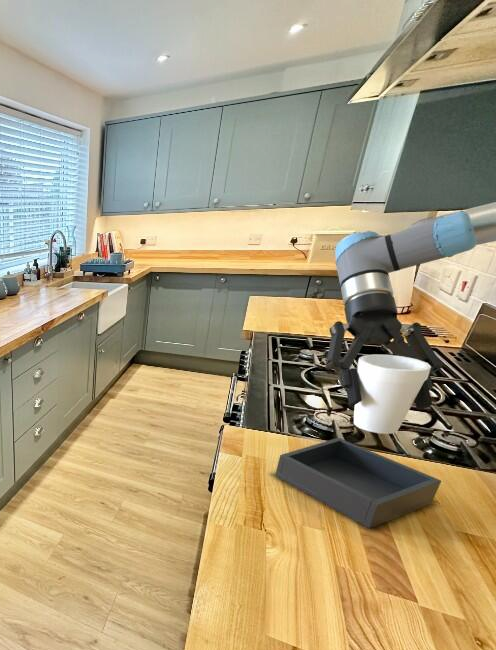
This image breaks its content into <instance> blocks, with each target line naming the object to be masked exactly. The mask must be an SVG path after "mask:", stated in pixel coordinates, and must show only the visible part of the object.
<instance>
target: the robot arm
mask: <svg viewBox="0 0 496 650" xmlns="http://www.w3.org/2000/svg"><path fill="white" fill-rule="evenodd" d="M495 242H496V201H495V202H491V203H486V204H483V205H478V206H474V207H470V208H466V209H463V210H460V211H454V212H451V213H446V214H443V215H439V216H430V217H427V218H422V219H419V220H416V222H413V223H412V224H410V225H409V226H408V227H407V228H405V229H402V230H400V231H396V232H393V233H391V234H387V235H383V236H380V234H378V233H377V232H375V231H372V230H365V231H363V232H361V231H357V232H353V233H351V234H349V235H347V236H345V237H344V238H342V239H340V241H338V243H337V244H336V246H335V248H334V255H335V266H336V272H337V277H338V281H339V286H340V292H341V298H342V304H343V306H344V308H343V309H344V315H345V320H346V323H343V322H342V321H340V320H338V321H336V322H334V324H333V325H331V326H330V327H329V334H330V342H329V347H328V352H327V356H326V360H325V361H326V362H325V369H326V370H327V371H331V370H333V371H334V374H335V375H336V376H337V375H338V378H339V383H340V384H339V385H340V386H341V388H345V390H346V397H347V403H348V406H354V407H355V405H356V404H357V403H359V402H360V401H362V398H361V392H360V387H359V381H358V376H357V370H356V368H353V367H352V365H353V364H354V362H355V360H356V358H357V357H358V355H359V353H360V352H361V349H362V347H363V346H364V345H381V346H383V347H384V348H385V349H386V350H390V351H391V353H392V354H393V355H395V356H404V357H409V358H413V359H418V360H421V361H423V362H426V363H428V364H429V365H430V366H431V369H430V372H429V375H428V378H427V380H426V381H424V383H423V385H422V387H421V389H420V390H419V392H418V394H417V396H416V398H415V400H414V404H415V408H416V410H420V411H422V410H424V409H427V408H429V407H431V406H433V405H434V404H433V400H432V396H431V390H433V388H434V385H433V384H434V383H433V381H432V376H431V375H432V374H434V373H436V372H437V371H439V370H441V369H442V368H443V367H444V366H443V364H442V362H441V361H440V359H439V358H438V356H437V354H436V353H435V351H434V350H433V348H432V347H431V345H430V344H429V342H428V340H427V339H426V337H425V336H424V334H423V331H422V325H421V323H420V322H413V323H412V324H406V323H405V324H404V323H402V322H401V321H400V320H399V319H398V308H397V304H396V300H395V297H394V290H393V286H392V282H391V279H390V274H391V273H394V272H398V271H400V270H403V269H408V268H411V267H416V266H418V265H423V264H427V263H430V262H434V261H437V260H441V259H445V258H452V257H453V256H456V255H459V254H462V253H466V252H469V251H471V250H473V249H475V247H476V246H478V245H483V244H488V243H495ZM347 332H348V333H349V334H350V335H351V336H353V337H354V338H353V339H352V341H351V343H349V344H350V345H349V347H348V349H347V351H346V352H345V355H344V356H343V357H342V358H341V354H342V349H343V344H344V339H345V334H346V333H347ZM341 359H342V360H341ZM351 367H352V368H351Z"/></svg>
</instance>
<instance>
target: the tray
mask: <svg viewBox="0 0 496 650" xmlns="http://www.w3.org/2000/svg"><path fill="white" fill-rule="evenodd" d="M274 476H275V477H276V478H278V479H280V480H282V481H284V482H286V483H287V484H289V485H291V486H293V487H295V488H296V489H298V490H300V491H302V492H303V493H305V494H307V495H309V496H311V497H313V498H314V499H316V500H318V501H320V502H322V503H323V504H324V505H327V506H328V507H330V508H332V509H334V510H336V511H337V512H339V513H341V514H343V515H345V516H346V517H348V518H350V519H351V520H353V521H355V522H356V523H359V524H360V525H363V526H364V527H366V528H367V529H372V528H374V527H377V526H380V525H382V524H384V523H387V522H389V521H392V520H394V519H397V518H399V517H401V516H404V515H407V514H409V513H412V512H414V511H416V510H419V509H421V508H424V507H425V506H429V505H431V504H433V501H434V499H435V497H436V495H437V492H438V490H439V488H440V486H441V483H442V480H441V479H438V478H436V477H434V476H432V475H429V474H427V473H424V472H422V471H420V470H417V469H414V468H412V467H410V466H407V465H405V464H403V463H400V462H398V461H395V460H393V459H390V458H388V457H386V456H383V455H381V454H378V453H376V452H374V451H371V450H370V449H367V448H364V447H362V446H359V445H357V444H354V443H352V442H350V441H347V440H345V439H343V438H340V437H335V438H332V439H329V440H327V441H322V442H319V443H316V444H311V445H309V446H306V447H303V448H299V449H296V450H293V451H289V452H286V453H282V454H280V455H279V458H278V462H277V466H276V470H275V474H274Z"/></svg>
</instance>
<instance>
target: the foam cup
mask: <svg viewBox="0 0 496 650" xmlns="http://www.w3.org/2000/svg"><path fill="white" fill-rule="evenodd" d="M355 369H356V370H357V376H358V381H359V387H360V392H361V398H362V401H360V402H359V403H357V404H356V405H354V409H353V424H354V426H355V427H357V428H359V429H362V430H364V431H367V432H370V433H375V434H384V435H390V434H391V435H392V434H396V433H397V432H399V429H400V428H401V426H402V424H403V423H404V420H405V419H406V417H407V415H408V414H409V411H410V410H411V407H412V405H413V403H415V398H416V396H417V394H418V392H419V390H420V389H421V387H422V385H423V383H424V381H426V380H427V378H428V375H429V372H430V369H431V366H430V365H429V364H428V363H426V362H423V361H421V360H418V359H413V358H409V357H404V356H396V355H395V354H377V353H376V354H375V353H373V354H366V355H365V354H363V355H362V356H360V357H359V358H358V361H357V365H356V368H355Z"/></svg>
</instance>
